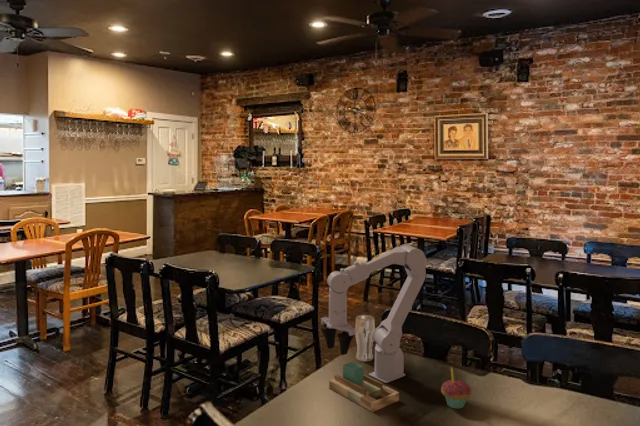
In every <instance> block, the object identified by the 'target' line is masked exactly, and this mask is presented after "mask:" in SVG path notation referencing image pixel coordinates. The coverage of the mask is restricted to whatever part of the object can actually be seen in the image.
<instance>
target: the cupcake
mask: <svg viewBox="0 0 640 426" xmlns="http://www.w3.org/2000/svg"><path fill="white" fill-rule="evenodd" d="M450 373H451V374H450V376H451V379H447V380H446V381H444V382H443V383H442V384H441V387H440V392H441V394H442V395H443V396H444V398H445V401H446V404H447V406H448V407H450V408H452V409H454V410H455V409H456V410H458V409H463V408H464V406H465V405H466V402H467V400H468V399H469V398H470V397H471V396H472V389H471V387H470V385H469V384H467V382H465V381H463V380H462V379H456V378H455V375H454V369H453V367H452V366H450Z"/></svg>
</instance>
